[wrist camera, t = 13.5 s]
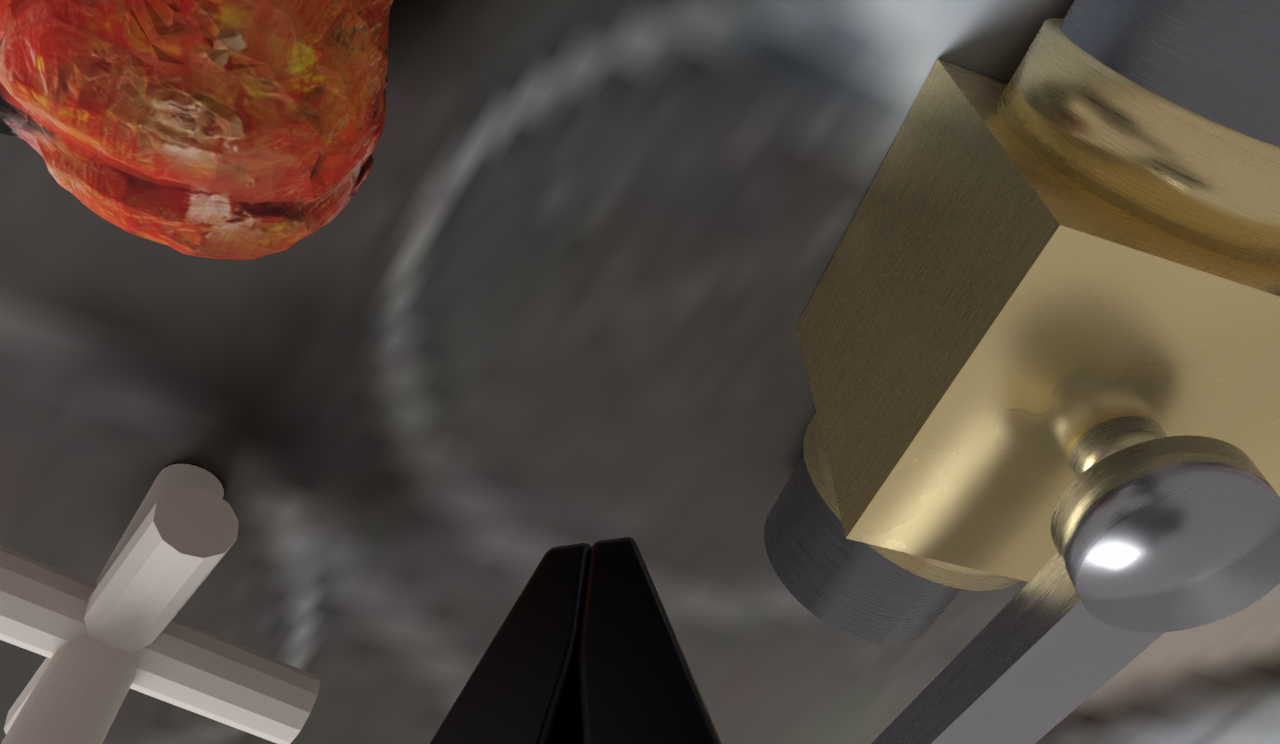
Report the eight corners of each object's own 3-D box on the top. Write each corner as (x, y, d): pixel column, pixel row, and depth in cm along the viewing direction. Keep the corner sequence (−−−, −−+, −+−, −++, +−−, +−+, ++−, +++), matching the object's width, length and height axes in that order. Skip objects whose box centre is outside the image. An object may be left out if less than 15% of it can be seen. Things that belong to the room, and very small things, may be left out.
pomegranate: (387, -296, 17) (-321, -318, 12) (615, -173, 14) (-269, -131, 8) (400, 76, 22) (-95, 170, 17) (570, 242, 19) (-1, 423, 14)
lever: (1108, 366, 15) (1205, 515, 12) (1267, 422, 15) (1390, 573, 13) (718, 816, 23) (727, 958, 21) (831, 838, 24) (854, 978, 22)
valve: (1081, -213, 16) (1384, -123, 10) (1400, -76, 18) (1857, 87, 11) (721, 466, 26) (750, 741, 19) (944, 521, 27) (1041, 795, 21)
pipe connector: (74, 274, 22) (-239, 619, 14) (435, 468, 26) (346, 824, 18) (-47, 505, 27) (-332, 860, 19) (274, 640, 31) (148, 982, 23)
